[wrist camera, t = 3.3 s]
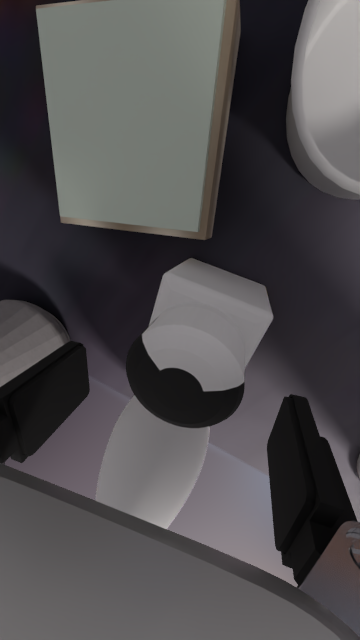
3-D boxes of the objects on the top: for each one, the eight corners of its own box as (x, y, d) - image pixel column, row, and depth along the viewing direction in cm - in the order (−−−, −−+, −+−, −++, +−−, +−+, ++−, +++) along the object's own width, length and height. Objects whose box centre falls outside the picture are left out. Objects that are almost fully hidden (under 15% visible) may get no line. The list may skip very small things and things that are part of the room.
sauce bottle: (229, 402, 25) (195, 722, 9) (172, 418, 28) (73, 674, 12) (193, 345, 23) (74, 608, 7) (137, 369, 27) (-29, 587, 11)
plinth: (240, 30, 14) (238, -30, 11) (211, 237, 19) (203, 240, 16) (72, 43, 16) (27, -4, 13) (85, 222, 21) (55, 222, 18)
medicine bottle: (233, 351, 22) (219, 467, 12) (167, 323, 23) (99, 409, 13) (267, 285, 19) (290, 363, 9) (189, 256, 20) (123, 293, 9)
